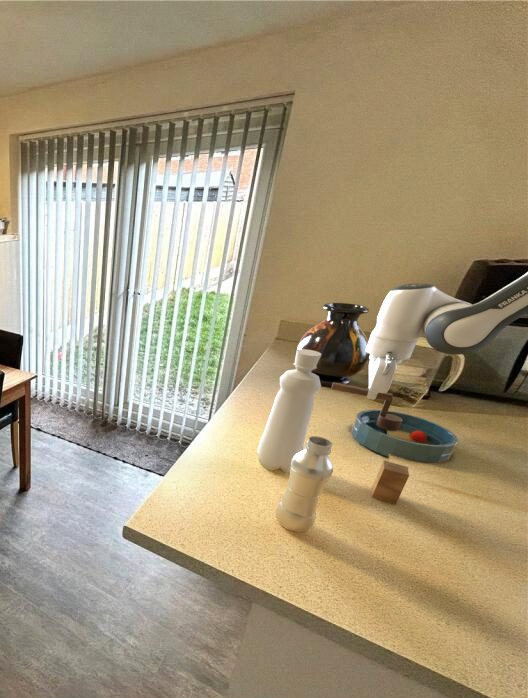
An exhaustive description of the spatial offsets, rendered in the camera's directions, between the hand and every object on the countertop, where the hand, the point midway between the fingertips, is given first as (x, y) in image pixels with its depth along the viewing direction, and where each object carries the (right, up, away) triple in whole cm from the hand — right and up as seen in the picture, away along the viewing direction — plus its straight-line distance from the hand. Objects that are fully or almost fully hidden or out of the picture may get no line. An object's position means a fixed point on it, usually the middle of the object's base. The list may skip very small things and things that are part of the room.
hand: (370, 396), depth 106 cm
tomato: (+12, -11, -1) cm, 17 cm away
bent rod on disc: (0, -7, +3) cm, 8 cm away
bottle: (-31, -17, -7) cm, 36 cm away
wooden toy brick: (-14, -22, -19) cm, 32 cm away
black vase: (+20, +5, +42) cm, 47 cm away
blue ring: (+7, -13, 0) cm, 15 cm away
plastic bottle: (-40, -26, -26) cm, 54 cm away
